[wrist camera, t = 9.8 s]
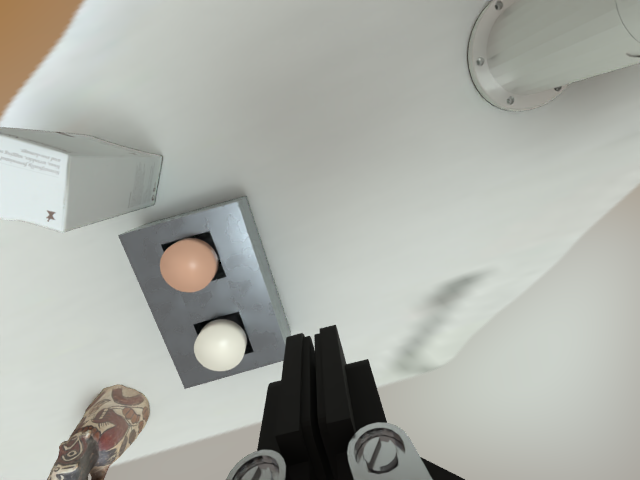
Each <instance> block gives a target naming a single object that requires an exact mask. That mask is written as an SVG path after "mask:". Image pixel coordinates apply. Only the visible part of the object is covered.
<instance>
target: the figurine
mask: <svg viewBox="0 0 640 480" xmlns="http://www.w3.org/2000/svg"><path fill="white" fill-rule="evenodd" d="M148 417H149V403H148V400H147V399H146V397H145V396H144V395H143V394H142V393H140V392H138V391H136V390H134V389H131V388H127V387H124V386H122V385H114V386H112V387H107V388H104V389H103V391H102V392H101V393H100V394H99V395H98V396H97V398H96V399H95V400H94V401H93V402H92V403H91V404H90V405H89V407H88V408H87V409H86V412H85V414H84V416H83V418H82V420H81V421H80V423H79V424H78V425H77V427H76V429H75V430H74V432H73V433H72V435H71V436H70V438H69V440H68V441H64V442H62V443H61V445H60V446H59V449H60V450H59V456H58V459H57V460H56V462H55V464H54V466H53V468H52V470H51V472H50V475H49V477H48V479H47V480H88V474H89V473H90V474H91V476H92V479H91V480H104V478H105V475H106V472H107V470H108V468H109V466H110V465H111V464H112V463H113V462H114V461H116V460H117V459H118V458H119V457H120V456H121V455H122V454H123V452H124V451H125V450H126V449H127V448H128V447H129V446H130V445H131V444H132V443H133V442H134V440H135V439H136V438H137V436H138V435H139V433H140V432H141V431H142V429H143V428H144V426H145V425H146V422H147V420H148Z"/></svg>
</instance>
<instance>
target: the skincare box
mask: <svg viewBox="0 0 640 480" xmlns="http://www.w3.org/2000/svg"><path fill="white" fill-rule="evenodd" d="M161 163H162V156H160V155H157V154H151V153H146V152H142V151H138V150H135V149H131V148H127V147H124V146H120V145H117V144H114V143H110V142H107V141H104V140H101V139H98V138H95V137H92V136H88V135H80V134H70V133H60V132H50V131H40V130H30V129H20V128H6V127H0V219H3V220H9V221H12V220H18V221H22V222H27V223H31V224H35V225H39V226H42V227H45V228H48V229H51V230H54V231H57V232H61V233H63V232H67V231H70V230H73V229H76V228H80V227H83V226H86V225H89V224H93V223H96V222H99V221H103V220H106V219H109V218H112V217H116V216H119V215H123V214H126V213H129V212H132V211H136V210H139V209H142V208H146V207H149V206H152V205H154V202H155V197H156V191H157V185H158V180H159V175H160V169H161Z"/></svg>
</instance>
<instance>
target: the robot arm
mask: <svg viewBox="0 0 640 480" xmlns="http://www.w3.org/2000/svg"><path fill="white" fill-rule="evenodd" d="M468 61H469V70H470V73H471V76H472V80H473V82H474V84H475V86H476V88H477V90H478V91H479V92H480V93H481V95H482V96H483V97H484V98H485V99H486V100H487V101H489V102H490V103H491V104H493V105H495V106H496V107H498V108H500V109H504V110H508V111H525V110H530V109H534V108H537V107H541V106H543V105H545V104H547V103H549V102H550V101H552V100H553V99H554V98H556V97H557V96H558V95H560V94H561V93H562V91H563V90H564V89H565V88H566V87H567V86H568V85H569V83H573V82H576V81H580V80H583V79H586V78H590V77H593V76H597V75H600V74H603V73H607V72H610V71H614V70H617V69H621V68H624V67H627V66H631V65H634V64H638V63H640V0H492V1H491V2H490V3H489V5H488V6H487V7H486V8H485V9H484V10H483V12H482V13H481V15H480V16H479V18H478V20H477V21H476V24H475V26H474V29H473V31H472V34H471V38H470V42H469V51H468ZM476 62H477V63H478V65H477V63H476ZM226 480H465V479H463V478H461V477H459V476H457V475H455V474H453V473H451V472H449V471H447V470H445V469H443V468H441V467H439V466H437V465H435V464H433V463H431V462H429V461H427V460H425V459H423V458H421V457H420V456H419V454H418V453H417V451H416V449H415V447H414V445H413V444H412V442H411V440H410V438H409V437H408V436H407V434H406V433H405V432H404V431H403V430H402V429H400V428H399V427H397V426H396V425H393V424H389V423H387V421H386V418H385V414H384V411H383V408H382V404H381V401H380V397H379V394H378V391H377V387H376V384H375V381H374V377H373V374H372V371H371V367H370V364H369V361H368V359H367V360H363V361H358V362H354V363H350V364H346V361H345V357H344V353H343V350H342V346H341V342H340V338H339V335H338V331H337V328H336V325H333V326H329V327H325V328H321V329H320V333H319V334H315V350H314V347H313V343H312V340H311V337H310V336H307V337H305V336H304V334H303V333H301V334H297V335H293V336H289V337H287V338H286V345H285V353H284V362H283V371H282V379H281V381H277V382H273V383H270V384H269V386H268V390H267V396H266V402H265V408H264V414H263V420H262V426H261V431H260V437H259V444H258V449H257V451H256V452H253V453H251V454H249V455H247V456H246V457H244V458H243V459H242V460H241V461H239V462H238V463H237V464H236V465H235V467H234V468H233V469H232V470H231V471H230V473H229V475H228V477H227V479H226Z"/></svg>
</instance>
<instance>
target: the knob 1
mask: <svg viewBox="0 0 640 480" xmlns="http://www.w3.org/2000/svg"><path fill="white" fill-rule="evenodd" d="M219 259H220V258H219V255H218V252H217V250H216V247H215V244H214V241H213V239H212V236H211V233H209V232H206V233H202V234H199V235H198V236H197V237H195V238H185V239H182V240H179V241H177V242H176V243H174V244H173V245H171V246H170V247H168V248H167V249H166V250H165V252H164V253H163V255H162V257H161V260H160V270H161V274H162V276H163V278H164V280H165V281H166V282H167V283H168V284H169V285H170V286H171V287H173V288H174V289H176V290H179V291H182V292H196V291H199V290H201V289H203V288H205V287H206V286H207V285H208V284H209V283H210V282H211V280H212V279H213V278H214V276H215V275H216V273H217V270H218V260H219Z"/></svg>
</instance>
